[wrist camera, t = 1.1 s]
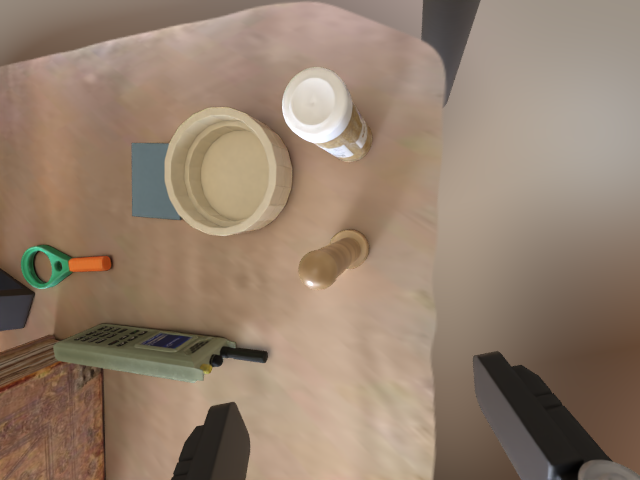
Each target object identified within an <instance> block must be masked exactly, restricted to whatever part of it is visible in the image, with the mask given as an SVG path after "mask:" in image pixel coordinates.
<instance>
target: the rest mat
mask: <svg viewBox="0 0 640 480" xmlns="http://www.w3.org/2000/svg"><path fill="white" fill-rule="evenodd" d="M168 146H169V144H164V143H132V216H138V217H150V218H161V219H173V220H181V216H179V214H178V213H177V211H176V209H175V208H174V206H173V204H172V203H171V201H170V199H169V196H168V192H167V188H166V184H165V157H166V153H167V150H168Z"/></svg>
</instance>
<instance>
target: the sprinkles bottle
mask: <svg viewBox="0 0 640 480" xmlns="http://www.w3.org/2000/svg"><path fill="white" fill-rule="evenodd" d="M282 111H283V116H284V119H285V121H286V123H287V125H288V126H289V127H290V129H291V130H292V131H293V132H295V133H296V134H297V135H298V136H300V137H301V138H303V139H305V140H307V141H309V142H313V143H315V144H316V145H318V146H319V147H321V148H323V149H324V150H326V151H327V152H329V153H331V154H332V155H334V156H336V157H337V158H338V159H340V160H341V161H345V162H354V161H357V160H359V159H361V158H363V157H364V156H365V155H366V154H367V153H368V151H369V149H370V147H371V144H372V133H371V130H370V127H369V126H368V124H367V123H366V122H365V121H364V119H363V117H362V116H361V114H360V113H359V111H358V110H357V108H356V106H355V105H354V103H353V102H352V98H351V95H350V92H349V90H348V89H347V87H346V85H345V83H344V82H343V81H342V79H341V78H340V77H339V76H338V75H337V74H336V73H335V72H333V71H331V70H329V69H327V68H323V67H312V68H308V69H305V70H303V71H301V72H299V73H298V74H297V75H295V76H294V77H293V78H292V80H291V81H290V82H289V84H288V85H287V87H286V89H285V91H284V94H283V99H282Z"/></svg>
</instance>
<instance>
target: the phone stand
mask: <svg viewBox="0 0 640 480" xmlns="http://www.w3.org/2000/svg"><path fill="white" fill-rule="evenodd" d="M33 296H34V292H32V291H31V290H30V289H28V288H27V287H26V286H24V285H23V284H21V283H20V282H19V281H17V280H16V279H13V277H12V276H10V275H9V274H7V273H6V272H5V271H3V270H2V269H0V331H4V330H12V329H21V328H24V326H25V323H26V319H27V316H28V313H29V309H30V306H31V303H32V299H33Z"/></svg>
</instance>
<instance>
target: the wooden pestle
mask: <svg viewBox="0 0 640 480" xmlns="http://www.w3.org/2000/svg"><path fill="white" fill-rule="evenodd" d="M368 254H369V244H368V241H367V239H366V237H365V236H364V235H363V234H362V233H360V232H359V231H356V230H350V229H349V230H344V231H341V232H339V233H337V234H336V235H335V236H334V237H333V238H332V240H331V242H330V244H329V245H327V246H325V247H323V248H321V249H318V250H314V251H311V252H309V253H307V254H306V255H305V256H304V257H303V258H302V259H301V261H300V264H299V268H298V272H299V277H300V279H301V281H302V282H303V283H304V284H305V285H306V286H307V287H309V288H311V289H314V290H322V289H326V288H328V287H329V286H331V285H332V284H333V283H334V282H335V280H336V278H337V277H338V276H339V275H340V274H341V273H343V272H344V271H345V270H346V269H354V268H357V267H359V266H360V265H361V264H362V263H363V262H364V261H365V260H366V258H367V256H368Z"/></svg>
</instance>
